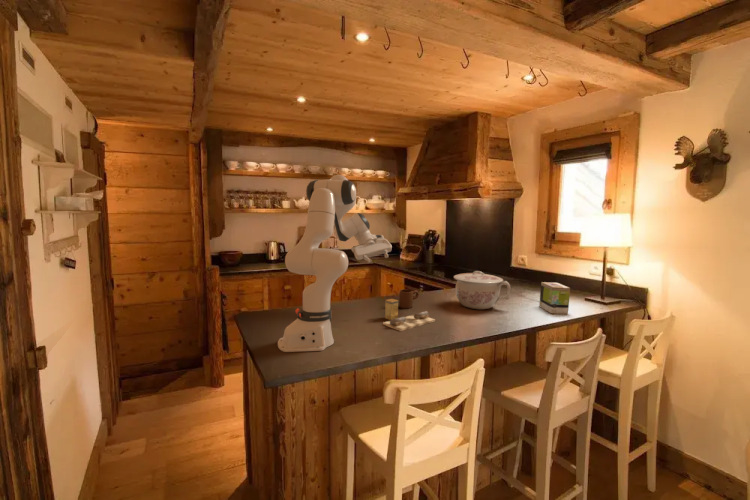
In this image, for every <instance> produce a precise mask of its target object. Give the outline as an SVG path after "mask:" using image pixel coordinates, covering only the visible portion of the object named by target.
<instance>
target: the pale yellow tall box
mask: <svg viewBox="0 0 750 500" xmlns="http://www.w3.org/2000/svg"><path fill="white" fill-rule="evenodd" d="M384 308H385V310H384V315H385V316H384V317H385V318H384V319H386V320H388V321H390V320H393V319H397V318H399V299H394V298H388V299H385V305H384Z"/></svg>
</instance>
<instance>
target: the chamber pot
mask: <svg viewBox="0 0 750 500" xmlns="http://www.w3.org/2000/svg"><path fill="white" fill-rule="evenodd" d="M453 279H454V280H456V281H457V282H456V284H455V295H456V298H457V299H458V301H459V303H460V305H462V306H463V307H465V308H468V309H470V310H480V311H481V310H486V309H491V308H493V307H494V306H495V305H496V304H497V303H498V302H500V301H501V300H502V299H504V298H506V297H507V296H509V294H510V293H511V290H512V289H511V284H510V283H509V282H508V280H504V279H503V278H502V277H500V276H496V275H492V274H489V273H488V274H487V273H484V271H483V272H482V271H480V270H474V271H473V272H466V273H465V272H464V273H459V274H455V275H453ZM504 285H505V286H506V287H507V290H506V293H504V294H503V295H501V296H500V292H501V289H502V286H504Z"/></svg>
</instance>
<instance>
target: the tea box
mask: <svg viewBox="0 0 750 500" xmlns="http://www.w3.org/2000/svg"><path fill="white" fill-rule="evenodd" d="M570 295H571V287H569V286H566V285H564V284H562V283H559V282H552V281H551V282H546V281H544V282H543V281H541V283H540V295H539V304H538V305H539V307H540V308H542V309H543V310H545V311H546V312H548V313H550V314H557V315H558V314H559V315H560V314H561V315H568V314H569V307H570V298H571V297H570Z"/></svg>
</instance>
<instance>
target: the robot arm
mask: <svg viewBox="0 0 750 500" xmlns="http://www.w3.org/2000/svg"><path fill="white" fill-rule="evenodd" d="M305 191H306V193H305V194H306V199H307V200H308V201H309V204H308V209H307V215H306V216H307V217H306V225H305V229H304V233H303V235H302V237H301V239H300V240H299V242H297V244H296V245H294V246H293V247H292V248H291V249H289V250H288V252H287V253H286V254H285V256H284V257H285V258H284V265H285V266H286V269H287V270H288V272H290V273H293V274H298V275H303V276H315V277H316V279H315V282H313V283H311V284H309V285H307V286H306V287H304V289H303V291H302V308H301V309H300V308H296V309H295V314H296V315H297V318H296V319H295V320H294V321H292V322H291V323H290V324H288V325H287V326H286V327H285V329H284V331H283V332H284V333H283V337H280V338H279V339H278V341H277V348H278V349H279V350H280V351H281V352H284V353H292V352H293V353H295V352H317V351H318V352H319V351H324V350H325V349H326V348H328V347H330V346H332V345H333V344H334V342H335V339H334V337H333V332H332V324H331V323H332V319H333V318H332V315H333V314H332V308H331V297H332V295H331V294H332V289H333V286H334V284H335V283H336V282H337V279H339V278H340V277H341V276H343V275H344V274H345V273H346V272H347V271H348V267H349V258H348V255H347V254H346V252H345V251H343V250H339V249H336V248H324V247H320V244H321V243H322V242H323V241H326V240H328V239H330V238H331V237H332V235H333V234H334V235H335V237H336V239H338V241H340V242H347V241H348V240H350V239H351V238H353V237H354V238H355V239H356V241H357V243H358V244H357V245H354V246H353V247H351V249H350V250H351V252H352V253H353V254H354V257H355V259H356V260H357V261H361V260H365V261H366V262H368V264H370V263H372V262H373V260H372V258H373V257H377V256H380V255H383V254H384V258H385V259H388V258H389V254H388V253H391V252H392V248H393V246H392V244H391V243H390V242H389V240H388V239H387V238H385V237H384V234H372V233H371V231H370V227H371V224H370V222H369V221H368V219H367V218H366V216H365V215H364V214H362V213H360V212H357V213H354V214H353V215H352V216H349V217H348V218H347V219H344V220H343V221H342V219H343V217H344V216H345V215H346V214H347V213H348V212H350V211H351V210H352V209H353V208H354V207H355V206H356V203H357V188H356V185H355V183H354V182H352V181H351V180H349V179H348V178H347V177H346V176H344V175H342V174H335V175H333V176H331V177H330V179H328V178H327V179H320V180H318V179H315V180H312V181H310V182H309V183H308V185H307V186H306V189H305Z"/></svg>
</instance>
